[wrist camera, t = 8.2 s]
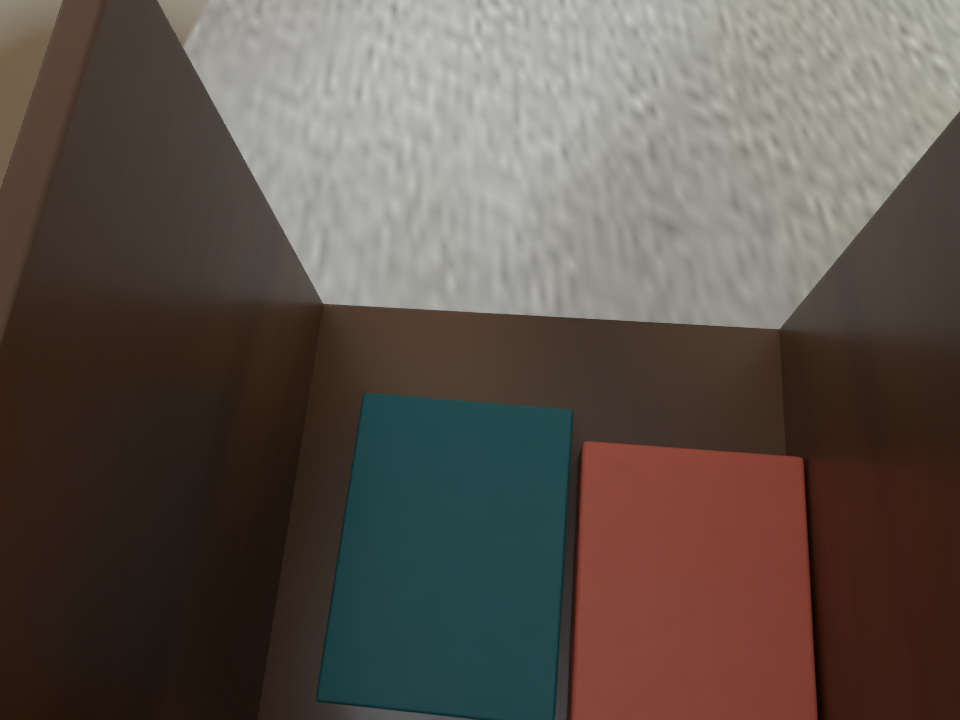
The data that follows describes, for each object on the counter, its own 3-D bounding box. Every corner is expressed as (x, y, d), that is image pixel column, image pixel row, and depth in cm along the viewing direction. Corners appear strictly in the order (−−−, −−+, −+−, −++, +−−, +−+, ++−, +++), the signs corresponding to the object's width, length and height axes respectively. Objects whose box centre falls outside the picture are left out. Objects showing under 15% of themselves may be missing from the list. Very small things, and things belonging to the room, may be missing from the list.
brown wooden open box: (227, 825, 16) (-324, 1159, 5) (310, 315, 19) (82, -67, 9) (822, 884, 15) (1511, 1403, 5) (790, 342, 19) (1130, -39, 8)
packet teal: (328, 698, 16) (314, 701, 15) (372, 407, 18) (362, 391, 17) (551, 723, 15) (554, 728, 14) (569, 424, 17) (573, 408, 16)
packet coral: (564, 760, 15) (568, 769, 14) (578, 453, 17) (582, 439, 16) (799, 784, 15) (824, 795, 14) (785, 468, 17) (805, 456, 16)
